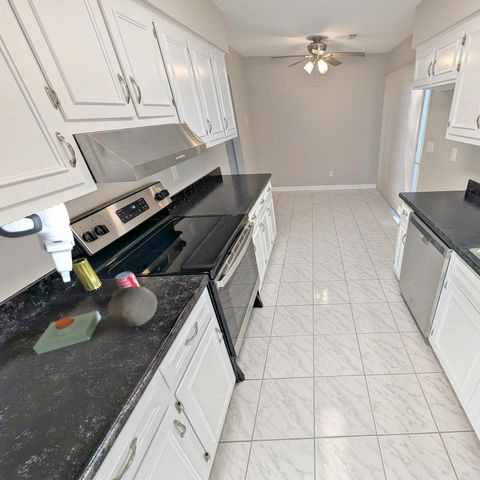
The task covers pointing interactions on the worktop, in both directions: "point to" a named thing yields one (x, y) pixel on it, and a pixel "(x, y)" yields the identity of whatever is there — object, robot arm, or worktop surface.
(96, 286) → the vase
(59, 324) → the button
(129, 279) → the soda can
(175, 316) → the worktop surface
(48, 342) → the green push-button pad
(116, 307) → the cantaloupe
